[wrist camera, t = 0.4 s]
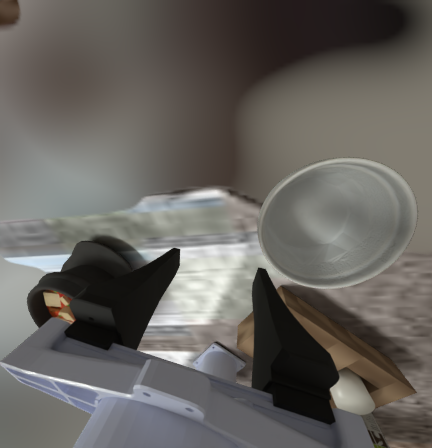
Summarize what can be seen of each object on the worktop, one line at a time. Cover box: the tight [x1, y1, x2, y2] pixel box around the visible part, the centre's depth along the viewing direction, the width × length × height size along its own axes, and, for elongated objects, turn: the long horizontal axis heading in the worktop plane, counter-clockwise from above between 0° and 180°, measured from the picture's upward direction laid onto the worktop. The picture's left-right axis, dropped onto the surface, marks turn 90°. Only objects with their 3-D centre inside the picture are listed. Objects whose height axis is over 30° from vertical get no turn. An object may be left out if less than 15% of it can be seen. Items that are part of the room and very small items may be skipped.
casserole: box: [27, 241, 132, 328], centre depth 29 cm, size 25×19×8 cm
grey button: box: [330, 367, 375, 415], centre depth 23 cm, size 5×5×4 cm
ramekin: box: [257, 157, 418, 289], centre depth 18 cm, size 13×13×7 cm
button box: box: [237, 286, 417, 409], centre depth 25 cm, size 12×22×4 cm, turn 58°
